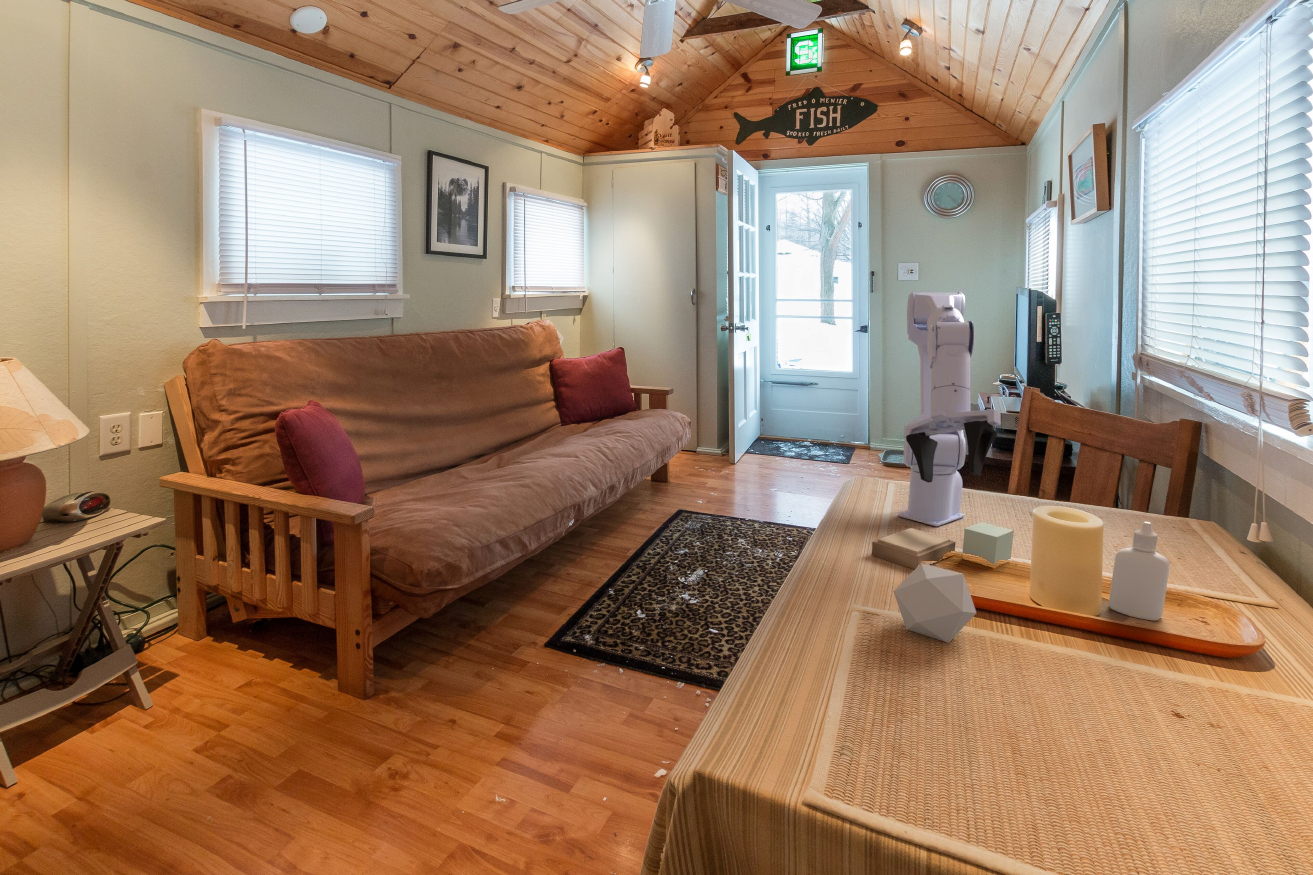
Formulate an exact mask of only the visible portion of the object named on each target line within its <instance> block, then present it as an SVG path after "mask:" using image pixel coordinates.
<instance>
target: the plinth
mask: <svg viewBox="0 0 1313 875" xmlns="http://www.w3.org/2000/svg"><path fill="white" fill-rule="evenodd" d="M951 551H955V552H956V541H954V540H951V538H949V537H948V538H947V537H944V536H940V535H937V534H933V533H930V532H926V531H923V530H920V529H916V528H912V527H909V528H907V529H904V530H901V531H899V532H895V533H892V534H890V535H886V536H884V537H881V538H878V539H875V540H873V541H872V542H871V556H873V557H877V558H879V559H883V560H886V561H888V562H892V563H894V564H898V565H900V566H904V567H907V568H909V569H912V570H915V569H916V568H917V567H918V565H919V563H920V562H921V561H939V560H940V559H942V558H943V556H944V554H946V553H947V552H951Z"/></svg>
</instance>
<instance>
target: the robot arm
mask: <svg viewBox="0 0 1313 875" xmlns="http://www.w3.org/2000/svg"><path fill="white" fill-rule="evenodd" d="M907 299H908V300H907V306H906V308H907V310H906V324H907V325H906V326H907V327H906V329H907V330H906V334H907V335H908V341H910V342H912V343H913V344H915V345H916V346H917V351H918V354H919V361H920V363H919V364H920V366H919V367H920V368H919V369H920V370H919V371H920V375H919V376H920V416H917V417H916V418H914V419H912V420H911V421H910V422H908V424H907V425H905V426H904V428H903V429H904V430H903V432H904V434H903V437H904V442H903V463H904V464H905V466H906V467H907V468H908V467H909V468H910V474H909V475H910V477H909V490H908V501H907V502H908V503H907V504H908V505H907V509H906V510H903V511H901V512H898V513H897V516H898V517H901V518H904V519H908V520H912V521H915V522H920V523H923V524H926V525H929V526H934V527H939V526H942V525H944V524H945V525H946V524H947V523H950V522H953V521H957V520H959V519H961V518H964V517H965V513H961V504H962V494H963V478H962V476H961V474H960V472H959V471H958V470H960V469H962V467H963V466H964V465H965V461H966V453H967V463H968V464H967V466H968V473H969V474H971V475H972V476H975V477H981V475H982V471H983V467H984V464H985V460H986V457H987V455H988V453H989V450H990V448H991V446H992V444H993V443H994V442H995V440H996V438H997V437H998V432H997V431H996V430H995V428H994V427H997V426H1001V425H1002V422H1001V420H1002V419H1001V418H1002V417H1001V412H999V411H998V410H996V409H995V408H991V409H984V410H971V403H972V402H971V358H972V355H973V353H974V350H975V349H974V348H975V343H976V342H975V341H976V332H975V325H974V324H975V323H974V321H972V320H968V321H965V319H964V316H965V310H966V309H965V308H966V297H965V294H963V291H957V292H916V291H911V293H910V294H909V295H908V298H907ZM964 431H965V435H964ZM965 436H966V438H965ZM966 440H967V441H966ZM966 443H967V444H966ZM966 449H967V452H966Z"/></svg>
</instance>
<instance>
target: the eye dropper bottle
mask: <svg viewBox="0 0 1313 875" xmlns="http://www.w3.org/2000/svg"><path fill="white" fill-rule="evenodd" d="M1158 536H1159V535H1158V534H1157V533H1156V532H1155V531H1153V529H1152V522H1149V521H1144V522H1143V523H1142V527H1141V529H1137V530H1135V531H1134V532H1133V539H1132V546H1131V547H1124V548H1121V549H1119V550H1118V551H1117V552H1116V554H1115V557H1114V564H1113V569H1112V570H1113V571H1112V577H1111V584H1110V585H1111V586H1110V591H1109V600H1108V607H1109V609H1111V610H1112V611H1115V612H1117V613H1120V614H1123V615H1126V616H1129V617H1133V618H1137V619H1141V620H1147V621H1156V622H1157V621H1159V620H1160V619H1161V617H1163V613H1164V607H1165V600H1166V594H1167V588H1168V581H1169V580H1168V579H1169V573H1170V564H1171V563H1170V561H1169V559H1168V558H1167V557H1166V556H1164V555H1163V554H1161V553H1158V552H1157V551H1156V550H1157V545H1158V544H1157V543H1158Z"/></svg>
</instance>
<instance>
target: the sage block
mask: <svg viewBox="0 0 1313 875" xmlns="http://www.w3.org/2000/svg"><path fill="white" fill-rule="evenodd" d="M963 531H964V532H963V544H962V551H961V553H965V554H971V555H975V556H979V557H982V558H984V559H986V560H987V561H989V562H990V563H992V564H995V563H996V562H998V561H999V560H1008V559H1012V551H1013V540H1014V530H1013V529H1010V528H1006V527H1002V526H999V525H994V524H991V523H986V522H983V521H981V522H978V523H976V524H973V525H971V526H967V527H965V528H964V530H963Z"/></svg>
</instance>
